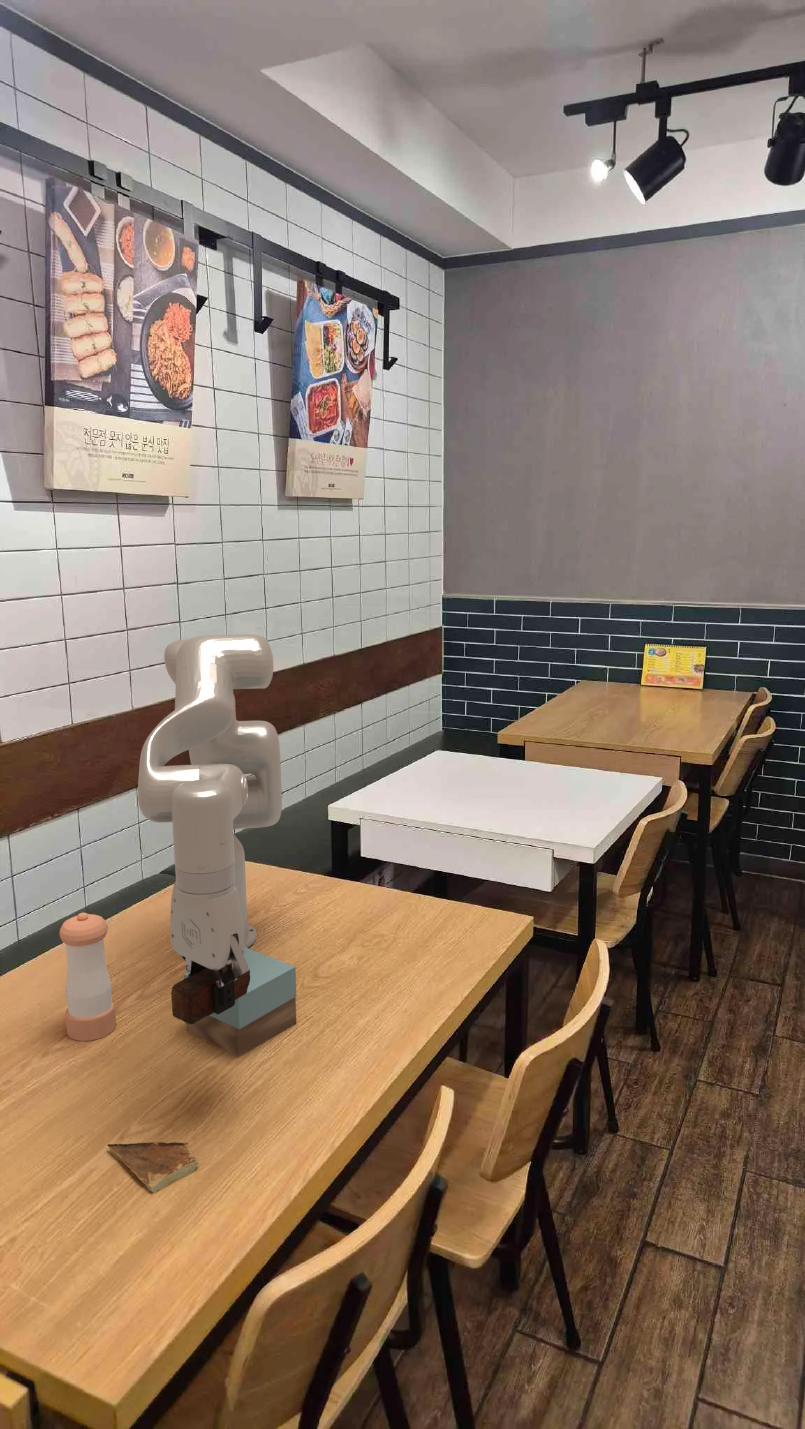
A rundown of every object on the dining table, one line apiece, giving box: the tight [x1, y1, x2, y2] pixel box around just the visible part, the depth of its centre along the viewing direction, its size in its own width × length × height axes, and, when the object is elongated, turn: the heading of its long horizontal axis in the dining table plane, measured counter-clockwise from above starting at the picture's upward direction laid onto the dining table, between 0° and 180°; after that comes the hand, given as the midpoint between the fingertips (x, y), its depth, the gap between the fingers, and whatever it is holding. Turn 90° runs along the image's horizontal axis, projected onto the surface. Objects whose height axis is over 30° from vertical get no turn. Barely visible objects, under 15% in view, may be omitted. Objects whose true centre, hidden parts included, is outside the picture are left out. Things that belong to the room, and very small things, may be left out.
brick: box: [170, 966, 250, 1024], centre depth 124 cm, size 11×4×5 cm, turn 144°
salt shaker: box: [59, 912, 117, 1042], centre depth 143 cm, size 7×7×19 cm
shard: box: [107, 1141, 199, 1194], centre depth 115 cm, size 11×8×2 cm
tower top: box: [183, 947, 297, 1029], centre depth 143 cm, size 12×12×5 cm
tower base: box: [185, 996, 297, 1058], centre depth 145 cm, size 12×12×5 cm
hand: (212, 1001), depth 124 cm, fingers closed on brick, 4 cm apart
